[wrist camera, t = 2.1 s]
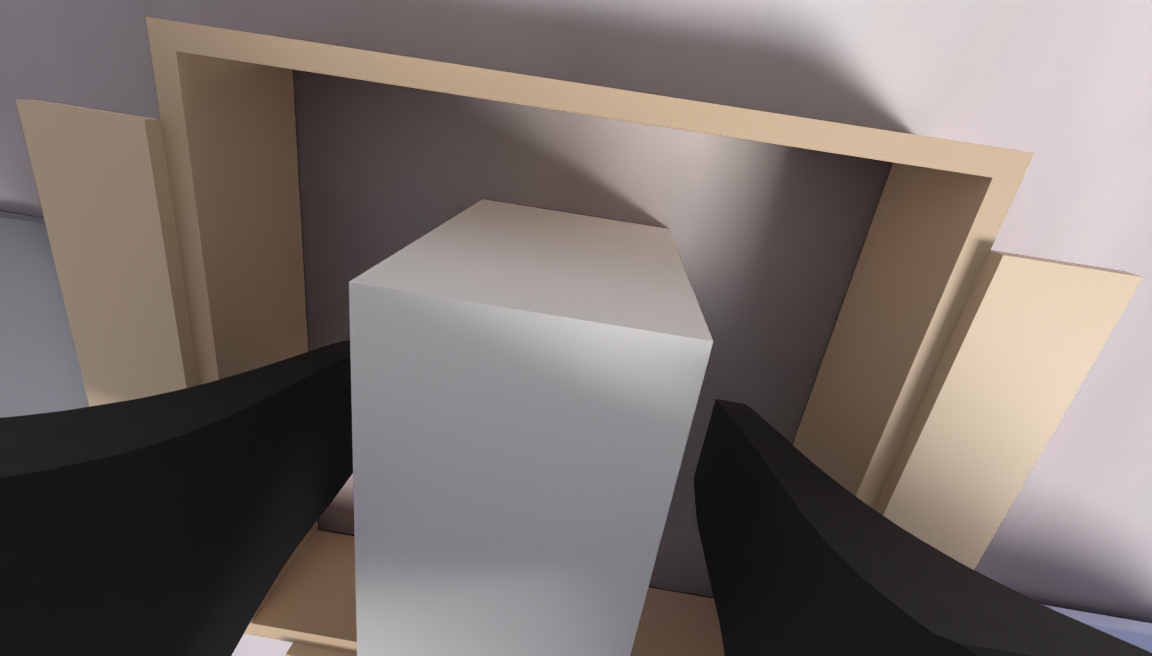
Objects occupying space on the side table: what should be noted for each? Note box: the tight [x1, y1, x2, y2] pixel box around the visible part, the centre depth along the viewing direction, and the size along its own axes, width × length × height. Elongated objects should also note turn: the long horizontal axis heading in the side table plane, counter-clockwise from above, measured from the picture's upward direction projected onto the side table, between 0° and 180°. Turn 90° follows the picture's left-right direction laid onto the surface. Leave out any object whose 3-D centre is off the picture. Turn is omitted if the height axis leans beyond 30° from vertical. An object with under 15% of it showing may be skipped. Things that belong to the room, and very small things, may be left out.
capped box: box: [349, 199, 713, 656], centre depth 10 cm, size 4×8×6 cm, turn 172°
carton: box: [15, 16, 1143, 656], centre depth 12 cm, size 17×15×3 cm
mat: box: [0, 211, 89, 418], centre depth 14 cm, size 9×11×1 cm
